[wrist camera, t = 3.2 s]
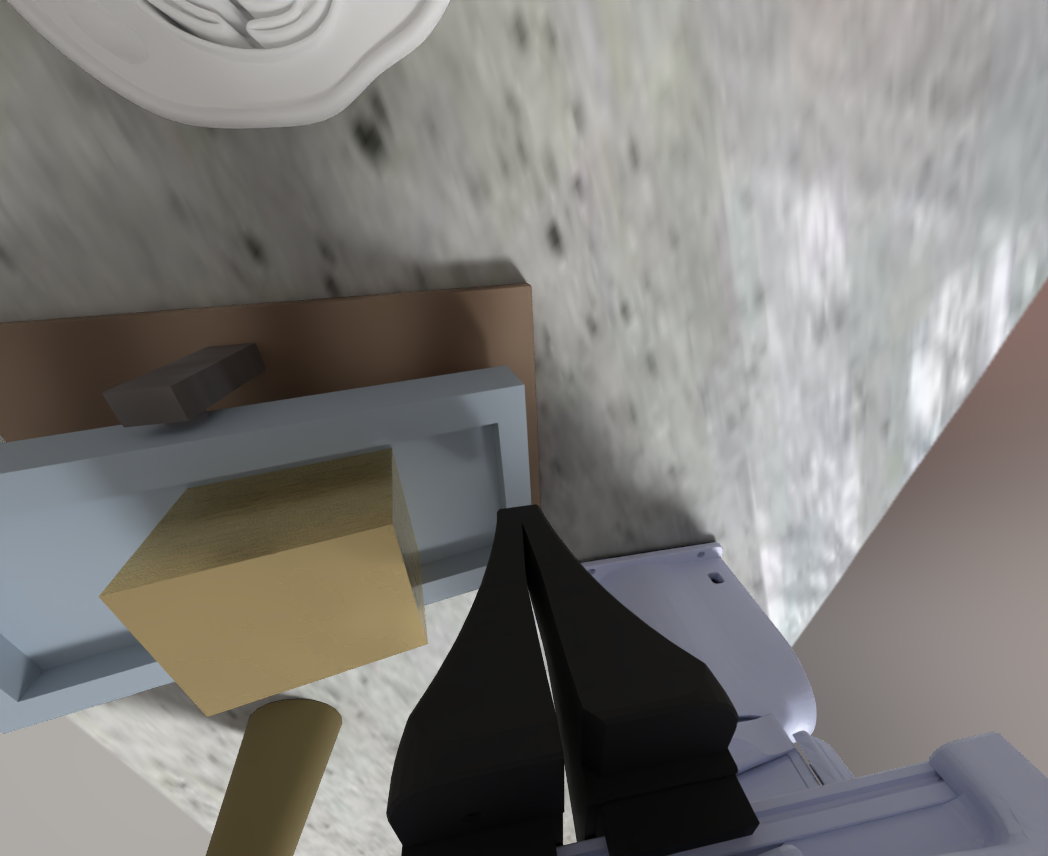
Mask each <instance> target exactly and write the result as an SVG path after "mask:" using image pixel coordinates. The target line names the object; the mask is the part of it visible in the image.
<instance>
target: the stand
mask: <svg viewBox="0 0 1048 856" xmlns="http://www.w3.org/2000/svg"><path fill="white" fill-rule="evenodd" d="M504 365H507V366H508V367H509V368H510V370H511V371H512V372H513V373H514V374H515V375H516V376H517V377H518V378H519V379H520V380H521V381H522V382H523V384H524V386H525V403H526V420H527V438H528V455H529V473H530V490H531V505H534V504H537V505H538V506H539V507H540V508H541V501H540V478H539V454H538V430H537V407H536V383H535V360H534V336H533V312H532V289H531V285H529V284H528V283H522V284H509V285H496V286H483V287H470V288H456V289H443V290H430V291H417V292H404V293H391V294H377V295H364V296H351V297H338V298H325V299H311V300H298V301H285V302H272V303H259V304H246V305H232V306H219V307H206V308H193V309H180V310H167V311H153V312H140V313H127V314H114V315H101V316H88V317H74V318H61V319H48V320H35V321H22V322H8V323H0V435H1V436H2V437H3V438H4V439H5V441H6V442H13V441H19V440H26V439H32V438H39V437H45V436H52V435H58V434H65V433H71V432H77V431H84V430H90V429H97V428H103V427H110V426H116V425H122V426H123V427H124V428H126V427H135V426H145V425H154V424H164V423H174V422H183V421H189V420H191V419H192V418H194V417H195V416H197V415H198V414H200V413H201V412H203V411H204V410H207V411H213V410H220V409H226V408H233V407H239V406H246V405H252V404H259V403H265V402H271V401H278V400H284V399H291V398H297V397H304V396H310V395H317V394H323V393H330V392H336V391H343V390H349V389H356V388H362V387H369V386H375V385H381V384H388V383H394V382H401V381H407V380H414V379H420V378H427V377H433V376H440V375H446V374H453V373H459V372H466V371H472V370H478V369H485V368H491V367H498V366H504Z"/></svg>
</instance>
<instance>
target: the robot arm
mask: <svg viewBox="0 0 1048 856" xmlns="http://www.w3.org/2000/svg"><path fill="white" fill-rule="evenodd" d="M722 552H723V548H722V547H721V545H720V544H719V543H717V542H713V543H707V544H700V545H694V546H687V547H681V548H674V549H668V550H661V551H655V552H648V553H642V554H635V555H629V556H622V557H616V558H609V559H603V560H596V561H590V562H583V563H580V562H579V561H578V560H577V559H576V558H575V556H574V555H573V554H572V553H571V552H570V550H569V549H568V548H567V547H566V545H565V544H564V543H563V541H562V540H561V539H560V538H559V536H558V535H557V534H556V532H555V531H554V529H553V528H552V526H551V525H550V523H549V522H548V520H547V519H546V517H545V516H544V514H543V512H542V510H541V508H540V507H539V506H538V505H537V504H534V505H526V506H519V507H511V508H504V509H499V510H498V511H497V524H496V531H495V536H494V541H493V545H492V549H491V553H490V557H489V561H488V564H487V567H486V570H485V573H484V576H483V579H482V582H481V585H480V588H479V590H478V593H477V595H476V598H475V600H474V603H473V605H472V607H471V610H470V612H469V614H468V616H467V618H466V620H465V622H464V625H463V627H462V629H461V631H460V633H459V635H458V637H457V639H456V641H455V643H454V644H453V646H452V648H451V650H450V652H449V653H448V655H447V657H446V659H445V660H444V662H443V664H442V666H441V667H440V669H439V671H438V673H437V674H436V676H435V678H434V679H433V681H432V682H431V684H430V685H429V687H428V688H427V690H426V692H425V693H424V695H423V696H422V698H421V699H420V701H419V702H418V704H417V705H416V707H415V708H414V710H413V711H412V713H411V714H410V716H409V718H408V721H407V723H406V726H405V729H404V732H403V735H402V738H401V741H400V744H399V748H398V751H397V755H396V759H395V763H394V767H393V772H392V776H391V783H390V790H389V798H388V805H387V812H386V814H387V818H388V822H389V823H390V825H391V827H392V828H393V830H394V832H395V833H396V835H397V837H398V838H399V840H400V842H401V843H402V855H401V856H1048V778H1047V777H1046V776H1045V775H1044V774H1042V773H1041V772H1040V771H1039V770H1038V769H1037V768H1036V767H1035V766H1034V765H1033V764H1032V763H1031V762H1030V761H1029V760H1027V759H1026V758H1025V757H1024V756H1023V755H1022V754H1021V753H1020V752H1019V751H1018V750H1017V749H1016V748H1015V747H1014V746H1012V745H1011V744H1010V743H1009V742H1008V741H1007V740H1006V739H1005V738H1004V737H1003V736H1002V735H1001V734H999V733H996V732H989V733H985V734H980V735H976V736H971V737H967V738H962V739H958V740H954V741H952V742H948V743H946V744H944V745H942V746H941V747H940V748H938V749H936V750H935V751H934V752H933V753H932V755H931V756H930V757H929V761H926V762H922V763H918V764H913V765H909V766H905V767H901V768H896V769H892V770H887V771H883V772H879V773H874V774H870V775H866V776H861V777H857V778H855V777H854V776H853V774H852V773H851V772H850V770H849V769H848V768H847V766H846V765H845V764H844V762H843V761H842V760H841V759H840V757H839V756H838V755H837V753H836V752H835V751H834V750H833V749H832V747H831V746H830V745H829V744H828V743H827V742H825V741H823V740H820V739H818V738H816V737H811V736H810V734H811V733H812V732H813V730H814V728H815V724H816V704H815V699H814V694H813V691H812V689H811V685H810V683H809V681H808V678H807V676H806V673H805V671H804V669H803V667H802V665H801V663H800V661H799V660H798V658H797V656H796V654H795V653H794V651H793V649H792V648H791V646H790V645H789V643H788V642H787V641H786V639H785V638H784V637H783V635H782V634H781V633H780V632H779V630H778V629H777V628H776V627H775V625H774V624H773V623H772V622H771V620H770V619H769V618H768V616H767V615H766V614H765V613H764V611H763V610H762V609H761V608H760V606H759V605H758V604H757V603H756V601H755V600H754V599H753V598H752V596H751V595H750V594H749V593H748V591H747V590H746V589H745V588H744V586H743V585H742V584H741V582H740V581H739V580H738V579H737V577H736V576H735V575H734V574H733V572H732V571H731V570H730V569H729V567H728V566H727V565H726V564H725V562H724V561H723V560H722V559H721V555H722ZM528 590H529V591H528ZM529 594H530V596H529ZM530 598H531V601H532V605H533V609H534V613H535V616H536V620H537V624H538V628H539V632H540V635H541V639H542V643H543V647H544V651H545V656H546V660H547V665H548V671H549V677H550V682H551V688H552V694H553V700H554V704H553V700H552V696H551V691H550V687H549V683H548V679H547V674H546V670H545V666H544V661H543V657H542V652H541V648H540V643H539V639H538V634H537V630H536V625H535V620H534V615H533V611H532V606H531V601H530ZM554 706H555V708H554ZM555 711H556V712H555ZM794 742H797V743H798V745H799V746H800V748H801V749H802V751H803V752H804V754H805V755H806V757H807V758H808V760H809V762H810V763H811V764H810V766H811V768H812V770H813V771H814V773H815V774H816V775H817V777H818V779H819V780H820V782H821V783H822V786H820V784H819V783H818V781H817V780H816V778H815V777H814V775H813V774H812V772H811V771H810V769H809V767H808V766H807V764H806V763H805V761H804V760H803V758H802V756H801V755H800V753H799V752H798V750H797V749H796V747H795V746H794V744H793V743H794ZM564 765H565V771H566V777H567V783H568V789H569V795H570V802H571V808H572V814H573V820H574V827H575V833H576V839H577V842H576V843H571V844H567V845H563V812H564Z"/></svg>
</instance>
